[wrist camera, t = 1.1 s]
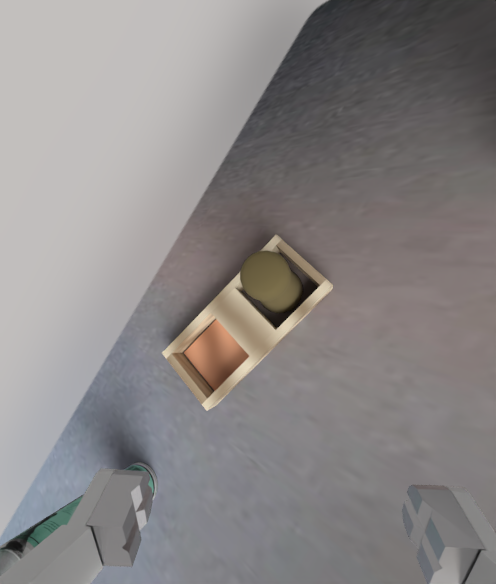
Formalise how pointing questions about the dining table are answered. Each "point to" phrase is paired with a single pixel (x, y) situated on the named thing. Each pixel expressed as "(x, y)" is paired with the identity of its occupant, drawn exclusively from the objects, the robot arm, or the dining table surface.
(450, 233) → the dining table surface
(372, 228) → the dining table surface
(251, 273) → the olive round-headed peg
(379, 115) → the dining table surface
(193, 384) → the socket rail
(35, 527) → the spray can
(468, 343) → the dining table surface
